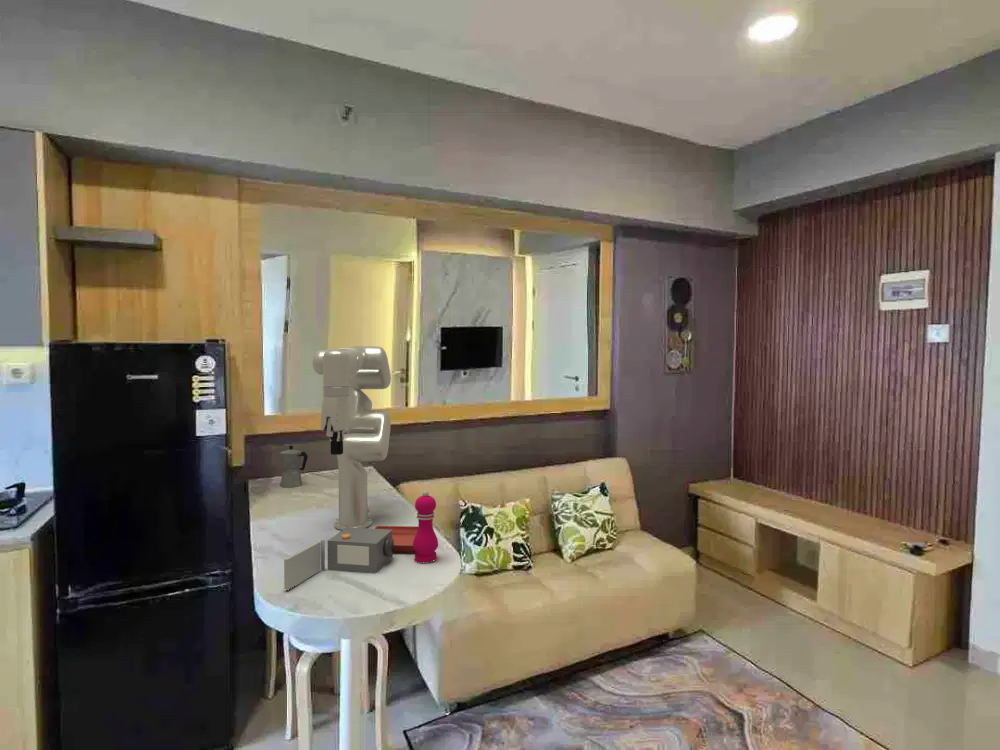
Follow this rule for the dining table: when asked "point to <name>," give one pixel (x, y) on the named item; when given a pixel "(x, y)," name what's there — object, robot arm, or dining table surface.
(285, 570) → the side door
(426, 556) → the pepper mill
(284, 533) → the dining table surface
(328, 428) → the robot arm
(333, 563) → the camera case
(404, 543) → the plant saucer
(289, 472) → the coffeepot
